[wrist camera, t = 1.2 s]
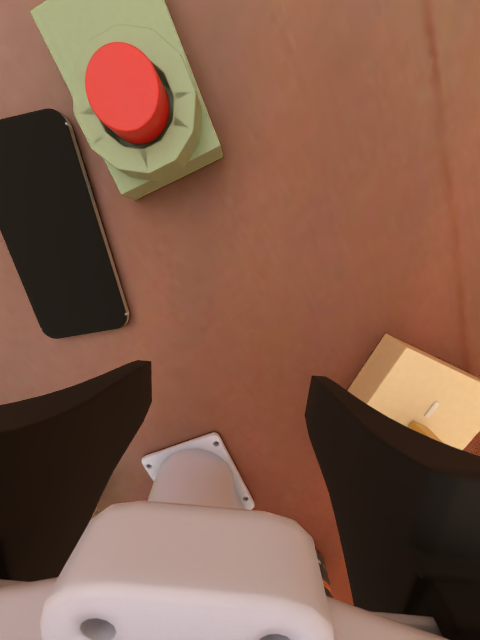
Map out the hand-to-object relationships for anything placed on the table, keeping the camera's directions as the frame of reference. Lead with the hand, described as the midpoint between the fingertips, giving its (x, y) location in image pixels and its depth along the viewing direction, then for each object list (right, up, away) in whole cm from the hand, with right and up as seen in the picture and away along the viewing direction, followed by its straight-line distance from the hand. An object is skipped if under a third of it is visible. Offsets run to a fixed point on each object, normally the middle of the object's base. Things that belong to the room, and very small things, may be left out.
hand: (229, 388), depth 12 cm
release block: (-6, +17, +5) cm, 19 cm away
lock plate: (+14, -5, +11) cm, 19 cm away
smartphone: (-13, +9, +8) cm, 18 cm away
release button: (-5, +15, +2) cm, 16 cm away
